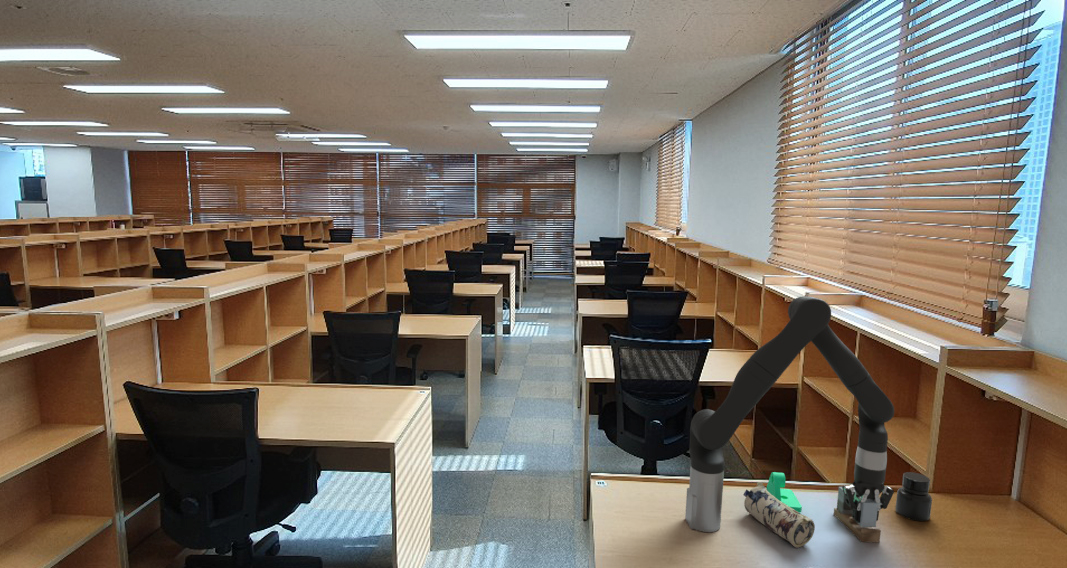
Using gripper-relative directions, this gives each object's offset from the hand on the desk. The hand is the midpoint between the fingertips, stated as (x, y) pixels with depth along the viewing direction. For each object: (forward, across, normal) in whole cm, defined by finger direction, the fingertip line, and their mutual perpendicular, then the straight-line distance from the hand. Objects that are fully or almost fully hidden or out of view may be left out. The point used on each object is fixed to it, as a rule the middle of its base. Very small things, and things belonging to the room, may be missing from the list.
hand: (864, 521), depth 169 cm
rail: (+4, 0, +4) cm, 6 cm away
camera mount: (+5, -15, +17) cm, 23 cm away
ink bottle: (+4, +22, +12) cm, 25 cm away
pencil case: (+4, -24, +2) cm, 24 cm away
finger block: (+1, 0, 0) cm, 1 cm away
